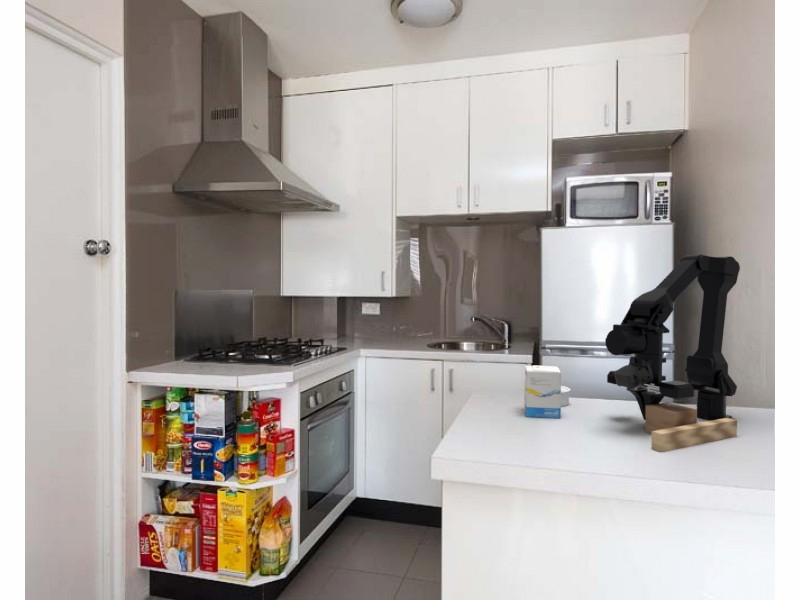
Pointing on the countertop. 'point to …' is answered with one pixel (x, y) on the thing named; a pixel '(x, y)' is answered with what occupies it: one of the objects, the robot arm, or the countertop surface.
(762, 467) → the countertop surface
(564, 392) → the ramekin
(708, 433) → the oak plank
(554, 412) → the ink box
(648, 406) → the walnut block
